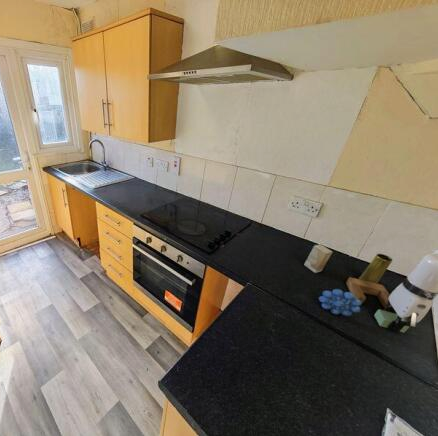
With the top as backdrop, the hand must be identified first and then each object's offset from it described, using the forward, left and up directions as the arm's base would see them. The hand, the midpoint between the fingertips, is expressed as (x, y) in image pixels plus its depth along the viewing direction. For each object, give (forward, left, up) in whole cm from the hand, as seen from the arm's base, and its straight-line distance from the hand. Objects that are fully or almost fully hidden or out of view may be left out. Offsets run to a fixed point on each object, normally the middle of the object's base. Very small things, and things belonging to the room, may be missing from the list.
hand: (389, 322), depth 84 cm
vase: (-2, -24, -1) cm, 24 cm away
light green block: (0, 0, -1) cm, 1 cm away
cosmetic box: (+20, -24, -1) cm, 31 cm away
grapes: (+18, +2, -1) cm, 18 cm away
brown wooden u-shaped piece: (+2, -13, -1) cm, 13 cm away
